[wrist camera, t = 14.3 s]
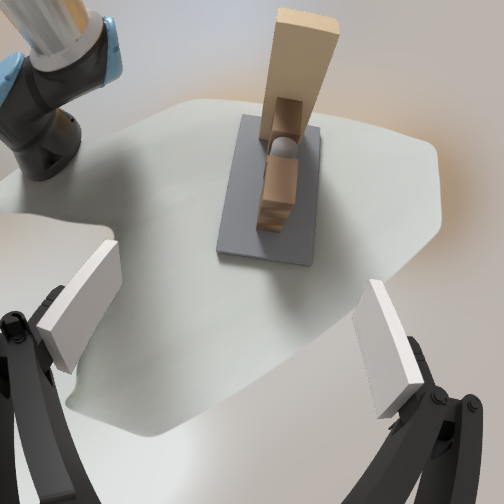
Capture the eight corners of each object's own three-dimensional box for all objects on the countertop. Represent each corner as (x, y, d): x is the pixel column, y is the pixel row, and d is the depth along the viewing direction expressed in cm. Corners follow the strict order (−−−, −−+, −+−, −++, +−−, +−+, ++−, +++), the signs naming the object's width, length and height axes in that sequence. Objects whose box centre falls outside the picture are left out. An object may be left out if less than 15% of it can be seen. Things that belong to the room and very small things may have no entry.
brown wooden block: (255, 229, 43) (262, 199, 33) (263, 175, 45) (271, 134, 35) (279, 233, 43) (294, 204, 33) (285, 178, 46) (300, 139, 35)
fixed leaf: (260, 192, 45) (269, 154, 34) (268, 140, 47) (277, 96, 36) (284, 196, 45) (298, 160, 34) (289, 143, 47) (302, 101, 37)
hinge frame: (216, 252, 43) (197, 165, 19) (242, 118, 49) (250, 0, 25) (309, 266, 44) (392, 200, 19) (318, 131, 50) (364, 23, 25)
